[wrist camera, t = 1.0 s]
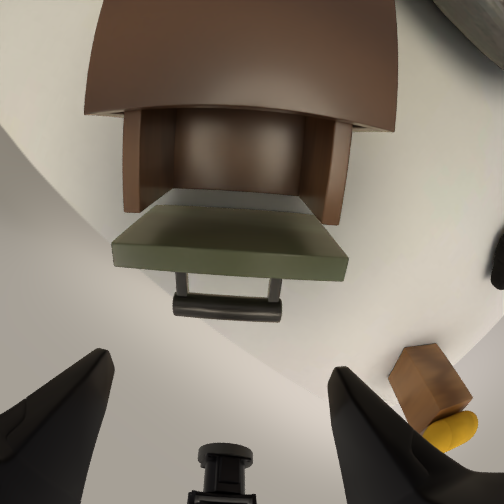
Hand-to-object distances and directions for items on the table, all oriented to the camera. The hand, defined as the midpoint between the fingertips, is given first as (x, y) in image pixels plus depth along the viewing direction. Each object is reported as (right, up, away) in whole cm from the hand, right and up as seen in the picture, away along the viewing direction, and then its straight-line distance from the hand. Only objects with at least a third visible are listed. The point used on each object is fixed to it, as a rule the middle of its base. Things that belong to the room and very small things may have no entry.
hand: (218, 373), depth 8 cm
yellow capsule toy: (+20, -12, +9) cm, 25 cm away
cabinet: (+1, +18, +5) cm, 19 cm away
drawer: (0, +9, +8) cm, 12 cm away
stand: (+19, -9, +17) cm, 27 cm away
